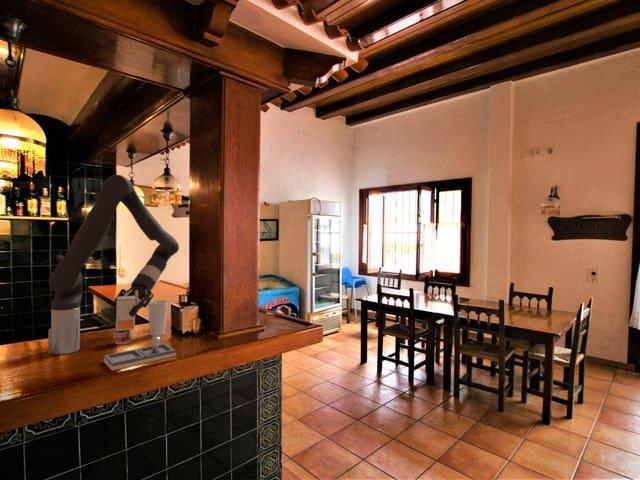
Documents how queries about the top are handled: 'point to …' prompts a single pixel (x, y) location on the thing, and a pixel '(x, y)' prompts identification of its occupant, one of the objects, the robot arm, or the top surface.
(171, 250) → the robot arm
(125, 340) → the pill bottle
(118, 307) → the skincare box
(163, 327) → the cup
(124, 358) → the board
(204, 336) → the top surface
